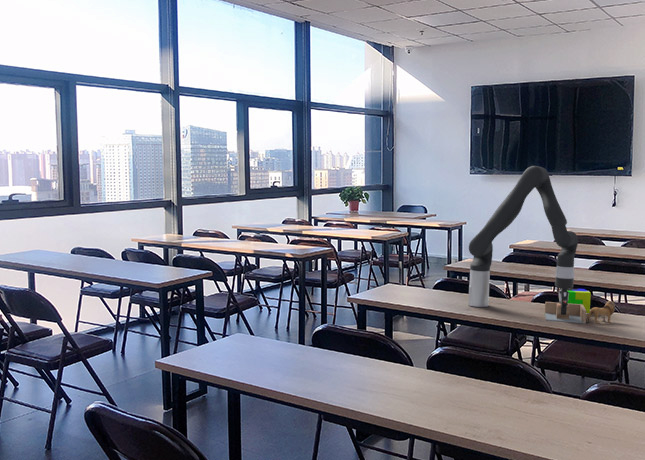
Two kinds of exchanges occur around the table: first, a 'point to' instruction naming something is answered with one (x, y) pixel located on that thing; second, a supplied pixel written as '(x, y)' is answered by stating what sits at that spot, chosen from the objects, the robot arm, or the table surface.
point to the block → (558, 312)
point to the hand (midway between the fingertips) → (562, 312)
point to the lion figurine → (602, 312)
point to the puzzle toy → (579, 298)
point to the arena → (575, 313)
